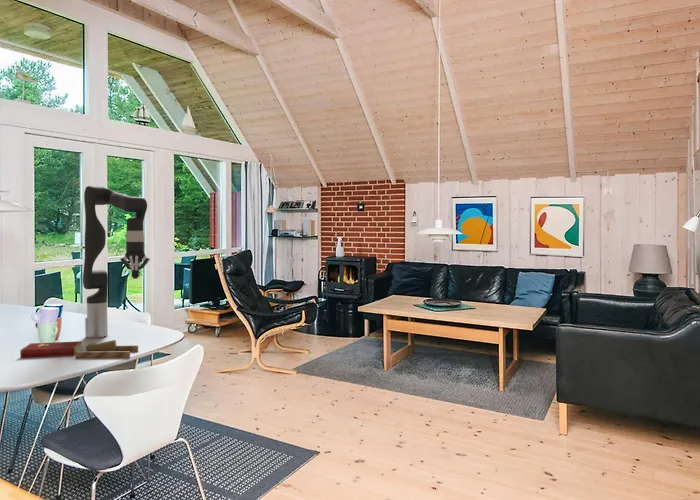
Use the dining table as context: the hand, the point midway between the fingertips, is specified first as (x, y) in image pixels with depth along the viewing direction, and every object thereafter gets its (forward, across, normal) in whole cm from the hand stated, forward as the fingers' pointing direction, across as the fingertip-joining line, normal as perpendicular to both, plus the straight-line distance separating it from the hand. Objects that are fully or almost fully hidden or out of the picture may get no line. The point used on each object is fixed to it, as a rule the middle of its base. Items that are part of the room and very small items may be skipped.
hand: (135, 278), depth 231 cm
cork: (+29, -5, -11) cm, 31 cm away
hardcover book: (+33, -32, -9) cm, 47 cm away
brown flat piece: (+32, -8, -12) cm, 35 cm away
